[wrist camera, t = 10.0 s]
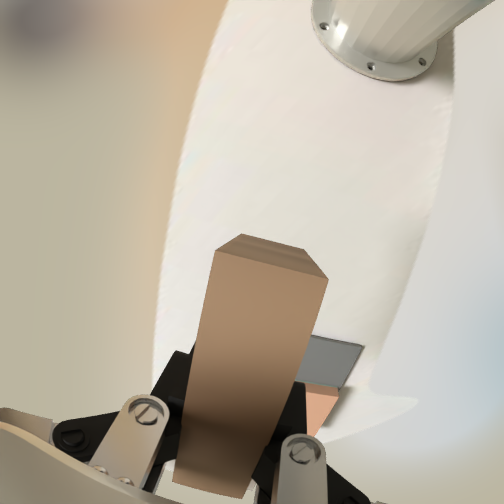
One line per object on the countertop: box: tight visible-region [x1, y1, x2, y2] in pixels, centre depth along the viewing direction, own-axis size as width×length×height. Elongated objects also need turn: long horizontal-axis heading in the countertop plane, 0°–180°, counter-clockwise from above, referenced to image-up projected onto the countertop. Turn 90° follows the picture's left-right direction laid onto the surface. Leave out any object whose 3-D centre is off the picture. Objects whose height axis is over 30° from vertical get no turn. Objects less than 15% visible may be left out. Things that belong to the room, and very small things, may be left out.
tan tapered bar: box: [165, 234, 329, 499], centre depth 9 cm, size 13×5×5 cm, turn 167°
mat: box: [295, 335, 362, 392], centre depth 31 cm, size 16×8×1 cm, turn 167°
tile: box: [295, 380, 339, 437], centre depth 31 cm, size 2×7×8 cm
